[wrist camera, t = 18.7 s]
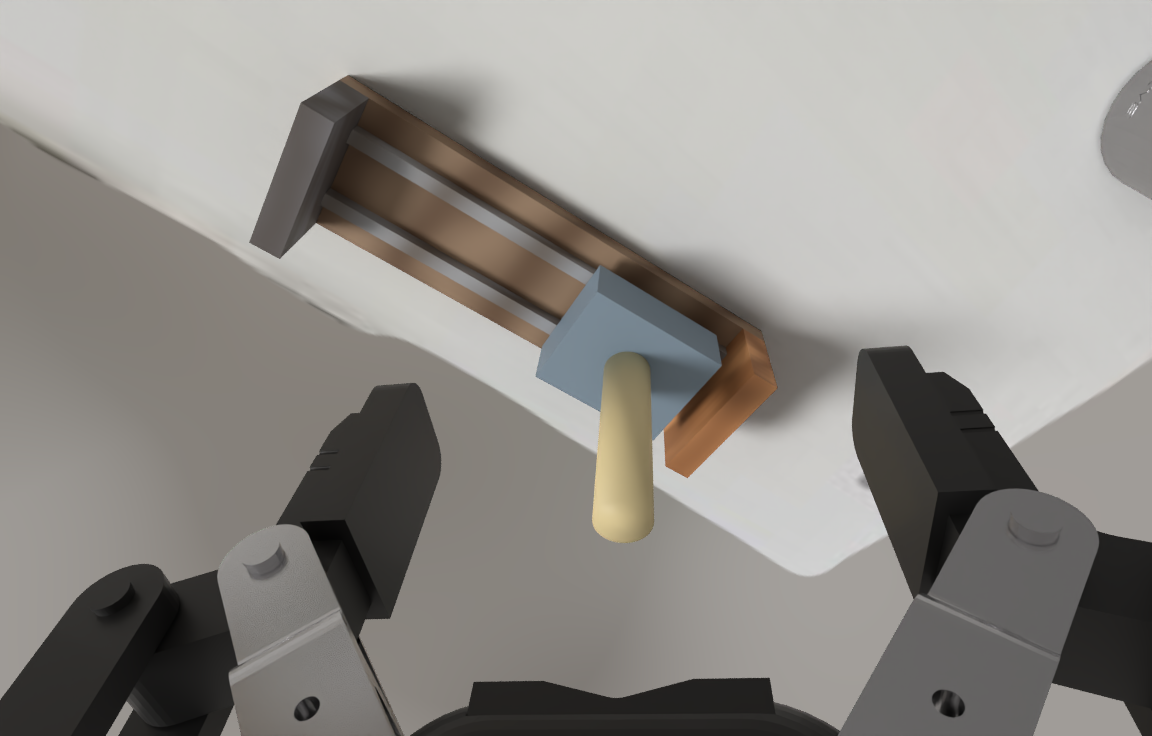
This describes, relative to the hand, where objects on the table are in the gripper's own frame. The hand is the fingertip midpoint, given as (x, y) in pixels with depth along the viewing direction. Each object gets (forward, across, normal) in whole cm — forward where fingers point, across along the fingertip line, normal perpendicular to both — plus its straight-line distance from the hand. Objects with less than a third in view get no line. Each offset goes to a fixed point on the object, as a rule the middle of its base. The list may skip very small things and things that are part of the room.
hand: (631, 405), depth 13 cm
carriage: (+33, +2, +19) cm, 38 cm away
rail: (+36, +9, +14) cm, 40 cm away
